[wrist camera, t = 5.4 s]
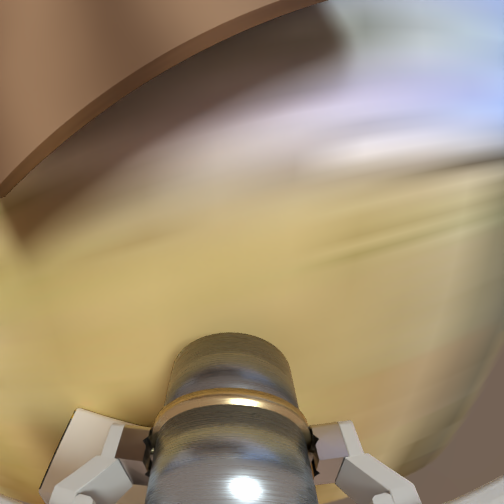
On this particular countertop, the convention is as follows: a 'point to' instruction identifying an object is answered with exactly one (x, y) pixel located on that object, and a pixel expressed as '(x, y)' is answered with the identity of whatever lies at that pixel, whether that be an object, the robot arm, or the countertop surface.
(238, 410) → the grey metal cylinder
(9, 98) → the walnut stand
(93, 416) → the medicine bottle
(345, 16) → the countertop surface
